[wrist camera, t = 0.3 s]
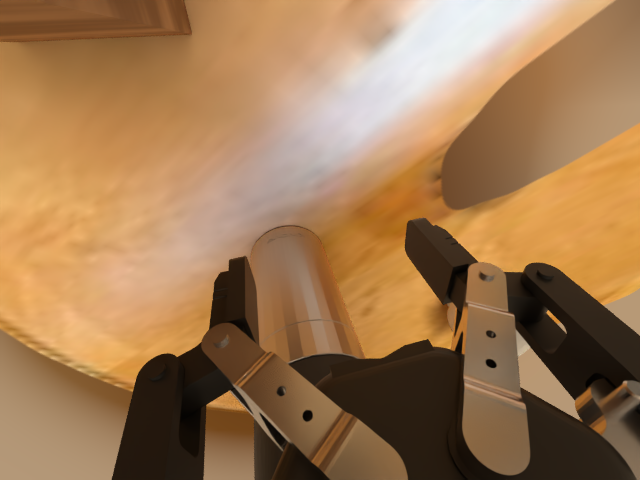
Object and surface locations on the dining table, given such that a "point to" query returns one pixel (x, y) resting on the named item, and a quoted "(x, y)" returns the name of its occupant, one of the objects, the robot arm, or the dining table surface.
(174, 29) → the brown patterned box
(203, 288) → the dining table surface
